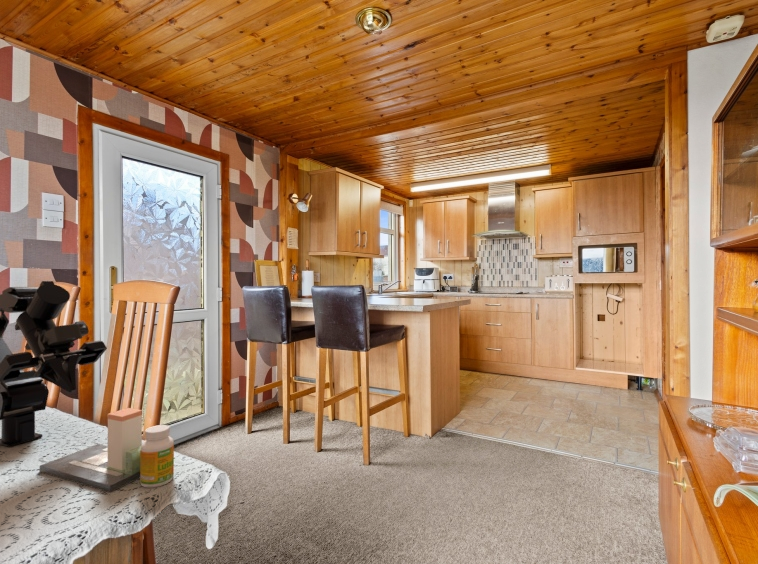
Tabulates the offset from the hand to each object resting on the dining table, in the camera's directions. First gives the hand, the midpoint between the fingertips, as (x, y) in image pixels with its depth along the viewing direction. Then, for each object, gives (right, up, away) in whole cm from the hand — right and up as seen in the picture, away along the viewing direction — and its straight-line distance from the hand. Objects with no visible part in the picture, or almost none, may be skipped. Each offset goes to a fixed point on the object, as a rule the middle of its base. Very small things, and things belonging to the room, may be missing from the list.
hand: (73, 391), depth 84 cm
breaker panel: (+10, -14, -6) cm, 18 cm away
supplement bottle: (+24, -14, -10) cm, 29 cm away
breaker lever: (+15, -12, -7) cm, 21 cm away
